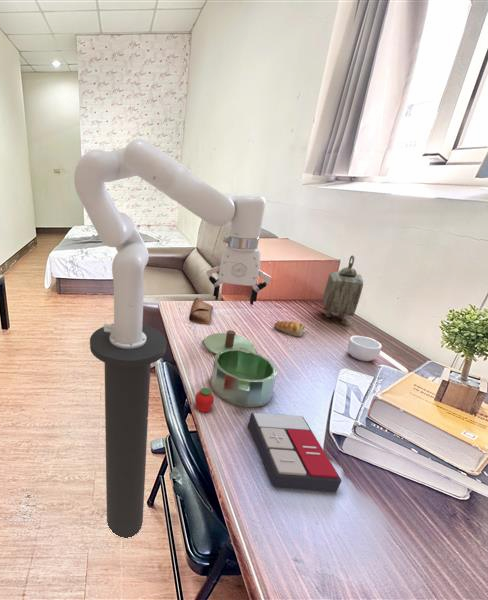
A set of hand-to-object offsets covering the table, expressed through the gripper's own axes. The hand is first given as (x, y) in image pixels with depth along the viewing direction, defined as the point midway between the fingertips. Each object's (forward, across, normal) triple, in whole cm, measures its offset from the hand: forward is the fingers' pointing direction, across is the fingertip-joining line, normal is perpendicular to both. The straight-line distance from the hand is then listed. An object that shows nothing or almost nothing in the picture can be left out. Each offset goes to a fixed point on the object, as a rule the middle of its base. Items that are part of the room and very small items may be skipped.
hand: (233, 300), depth 91 cm
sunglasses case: (+18, -10, +28) cm, 35 cm away
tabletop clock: (+18, +38, +42) cm, 60 cm away
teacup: (+18, +39, +13) cm, 45 cm away
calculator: (+18, +14, -36) cm, 42 cm away
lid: (+17, +1, +4) cm, 18 cm away
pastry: (+18, +21, +24) cm, 36 cm away
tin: (+18, +4, -17) cm, 25 cm away
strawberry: (+18, -4, -28) cm, 33 cm away
